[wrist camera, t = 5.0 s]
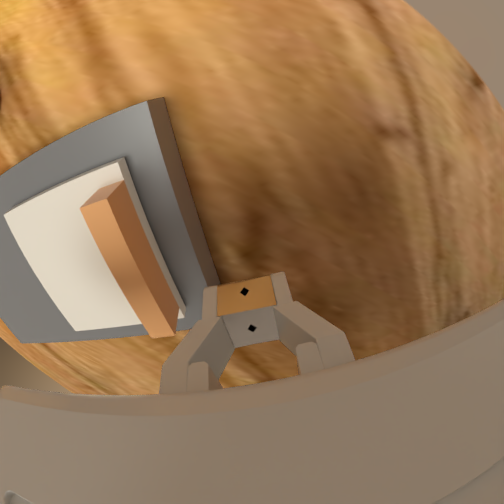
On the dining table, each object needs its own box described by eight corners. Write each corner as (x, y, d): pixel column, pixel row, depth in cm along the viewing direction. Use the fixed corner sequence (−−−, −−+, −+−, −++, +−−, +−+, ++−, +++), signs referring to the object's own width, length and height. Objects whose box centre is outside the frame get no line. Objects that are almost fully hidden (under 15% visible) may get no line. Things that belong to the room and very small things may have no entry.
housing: (163, 97, 15) (146, 100, 12) (222, 289, 24) (222, 324, 21) (-33, 203, 16) (-56, 222, 13) (34, 318, 25) (21, 343, 22)
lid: (124, 156, 13) (98, 178, 10) (186, 307, 19) (181, 345, 16) (11, 208, 14) (-17, 233, 11) (79, 322, 20) (66, 353, 17)
